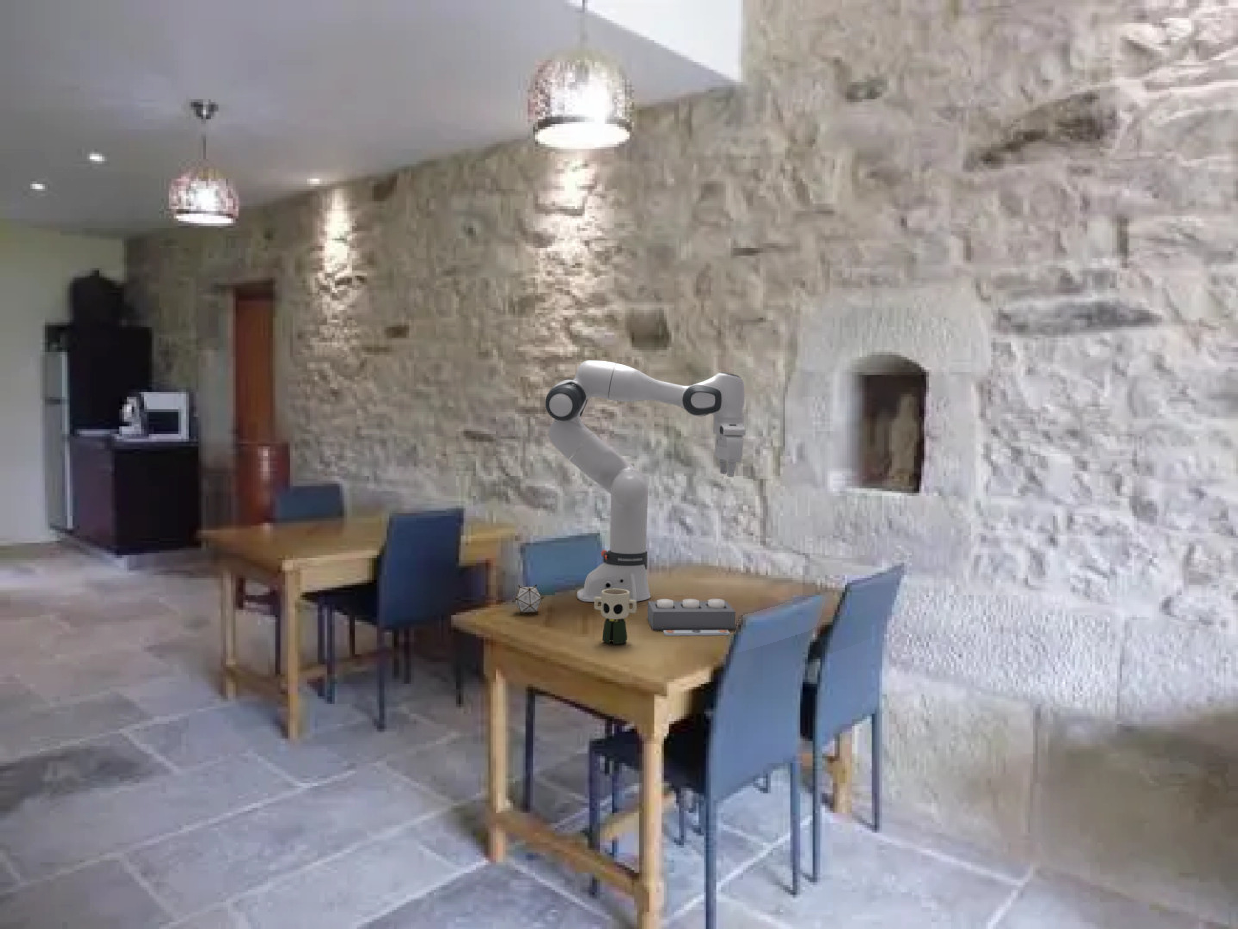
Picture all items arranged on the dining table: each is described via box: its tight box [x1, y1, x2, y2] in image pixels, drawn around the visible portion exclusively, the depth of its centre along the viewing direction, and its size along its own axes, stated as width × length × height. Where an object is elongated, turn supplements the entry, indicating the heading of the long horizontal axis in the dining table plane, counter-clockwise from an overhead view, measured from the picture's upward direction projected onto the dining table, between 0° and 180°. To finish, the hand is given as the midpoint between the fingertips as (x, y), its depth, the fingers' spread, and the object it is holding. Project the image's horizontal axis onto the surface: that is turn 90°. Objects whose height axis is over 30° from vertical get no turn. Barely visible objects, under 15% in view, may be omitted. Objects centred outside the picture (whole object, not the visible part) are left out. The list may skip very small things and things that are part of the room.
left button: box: [656, 598, 674, 609], centre depth 241 cm, size 4×4×3 cm
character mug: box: [593, 589, 638, 645], centre depth 223 cm, size 11×7×13 cm, turn 75°
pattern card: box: [662, 630, 731, 637], centre depth 233 cm, size 17×3×1 cm, turn 95°
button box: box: [646, 600, 736, 631], centre depth 242 cm, size 22×12×5 cm, turn 95°
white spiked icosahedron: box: [511, 584, 545, 615], centre depth 251 cm, size 9×8×10 cm
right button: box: [707, 598, 726, 608], centre depth 243 cm, size 4×4×3 cm
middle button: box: [682, 598, 700, 609], centre depth 242 cm, size 4×4×3 cm
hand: (726, 475), depth 263 cm, fingers open, 8 cm apart
